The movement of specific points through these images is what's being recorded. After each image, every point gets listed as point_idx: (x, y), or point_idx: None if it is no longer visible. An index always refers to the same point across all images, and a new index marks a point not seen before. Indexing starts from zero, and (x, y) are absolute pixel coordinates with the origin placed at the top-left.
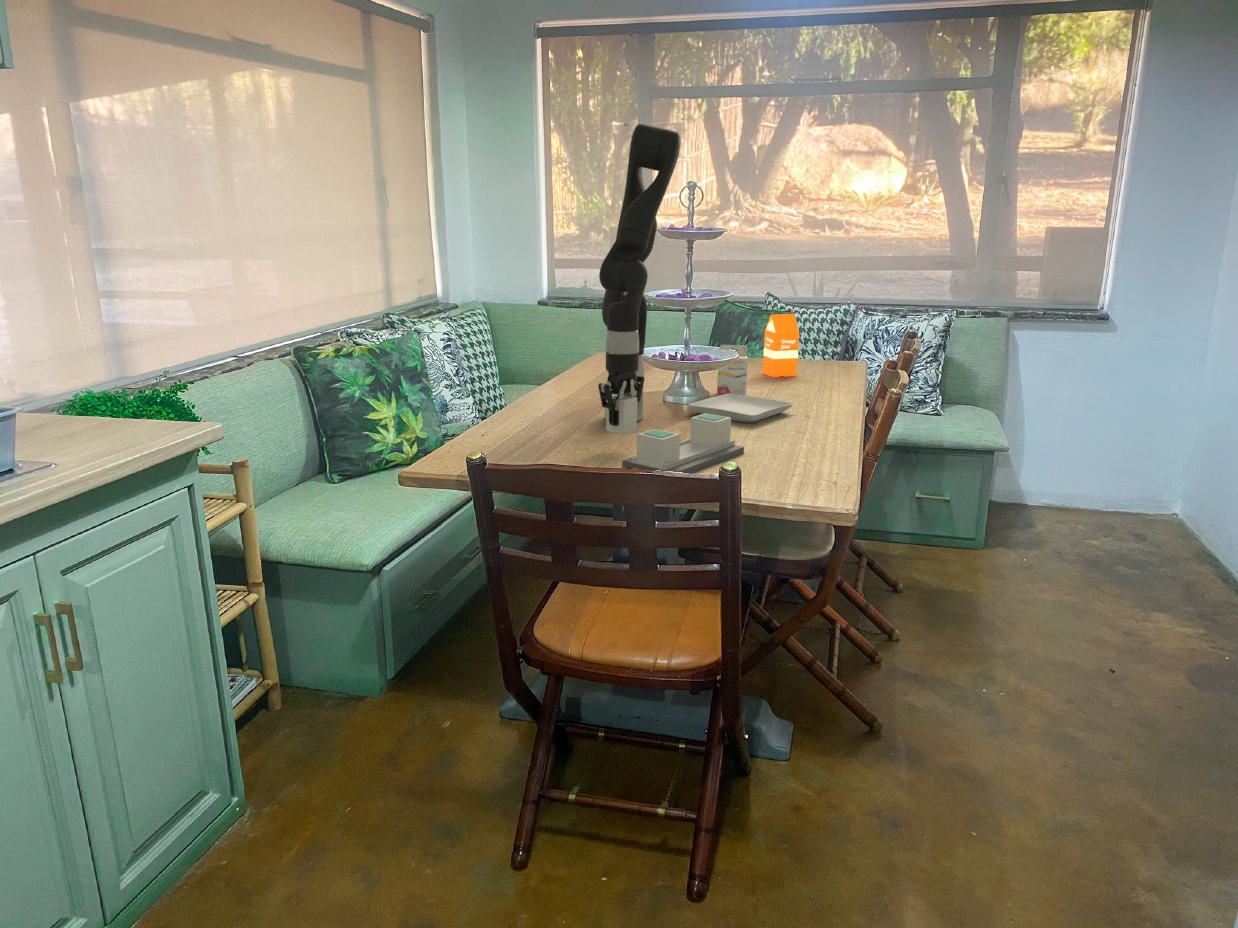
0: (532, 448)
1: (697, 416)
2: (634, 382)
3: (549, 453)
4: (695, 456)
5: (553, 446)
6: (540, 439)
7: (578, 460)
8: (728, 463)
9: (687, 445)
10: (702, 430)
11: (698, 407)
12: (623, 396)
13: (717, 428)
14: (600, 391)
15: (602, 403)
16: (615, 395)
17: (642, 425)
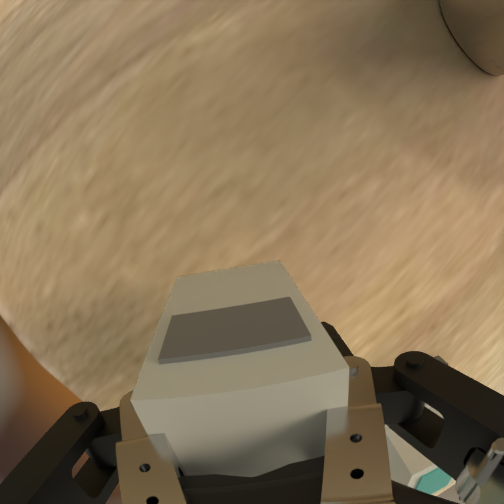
0: (9, 100)
1: (432, 468)
2: (463, 488)
3: (9, 183)
4: None
5: (60, 109)
6: (93, 12)
7: (40, 307)
8: None
9: None
10: (392, 473)
11: None
12: (285, 459)
13: None
14: (7, 494)
15: (60, 427)
16: (251, 413)
17: (480, 110)
